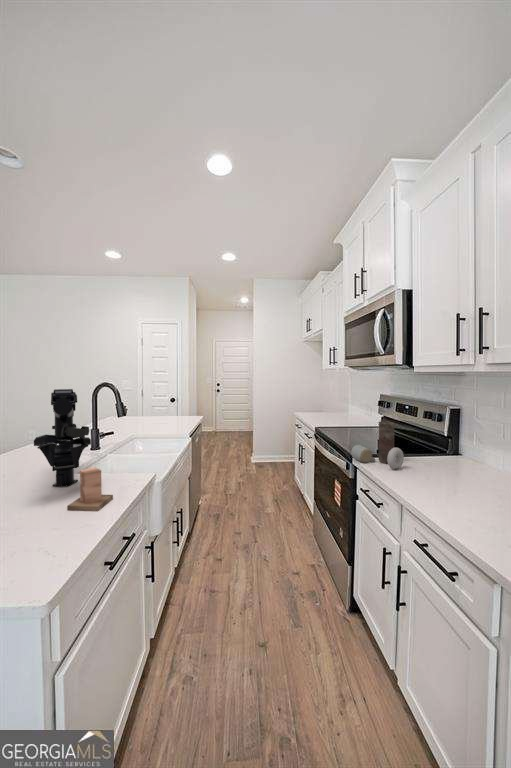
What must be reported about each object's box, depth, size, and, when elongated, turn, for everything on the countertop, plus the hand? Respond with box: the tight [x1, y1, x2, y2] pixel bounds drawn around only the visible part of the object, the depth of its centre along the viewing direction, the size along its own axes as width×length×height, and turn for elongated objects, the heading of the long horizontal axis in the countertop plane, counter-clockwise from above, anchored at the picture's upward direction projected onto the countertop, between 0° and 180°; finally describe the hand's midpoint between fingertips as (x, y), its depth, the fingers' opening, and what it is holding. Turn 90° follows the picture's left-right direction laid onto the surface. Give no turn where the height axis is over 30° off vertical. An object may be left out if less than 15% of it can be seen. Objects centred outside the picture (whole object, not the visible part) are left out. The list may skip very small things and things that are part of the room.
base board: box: [66, 494, 114, 512], centre depth 110 cm, size 10×10×2 cm
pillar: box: [79, 466, 103, 504], centre depth 109 cm, size 5×5×10 cm
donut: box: [387, 446, 405, 470], centre depth 151 cm, size 10×4×10 cm, turn 124°
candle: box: [378, 421, 395, 464], centre depth 163 cm, size 8×7×20 cm
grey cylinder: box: [350, 444, 376, 464], centre depth 165 cm, size 11×8×8 cm
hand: (64, 465), depth 115 cm, fingers open, 9 cm apart
